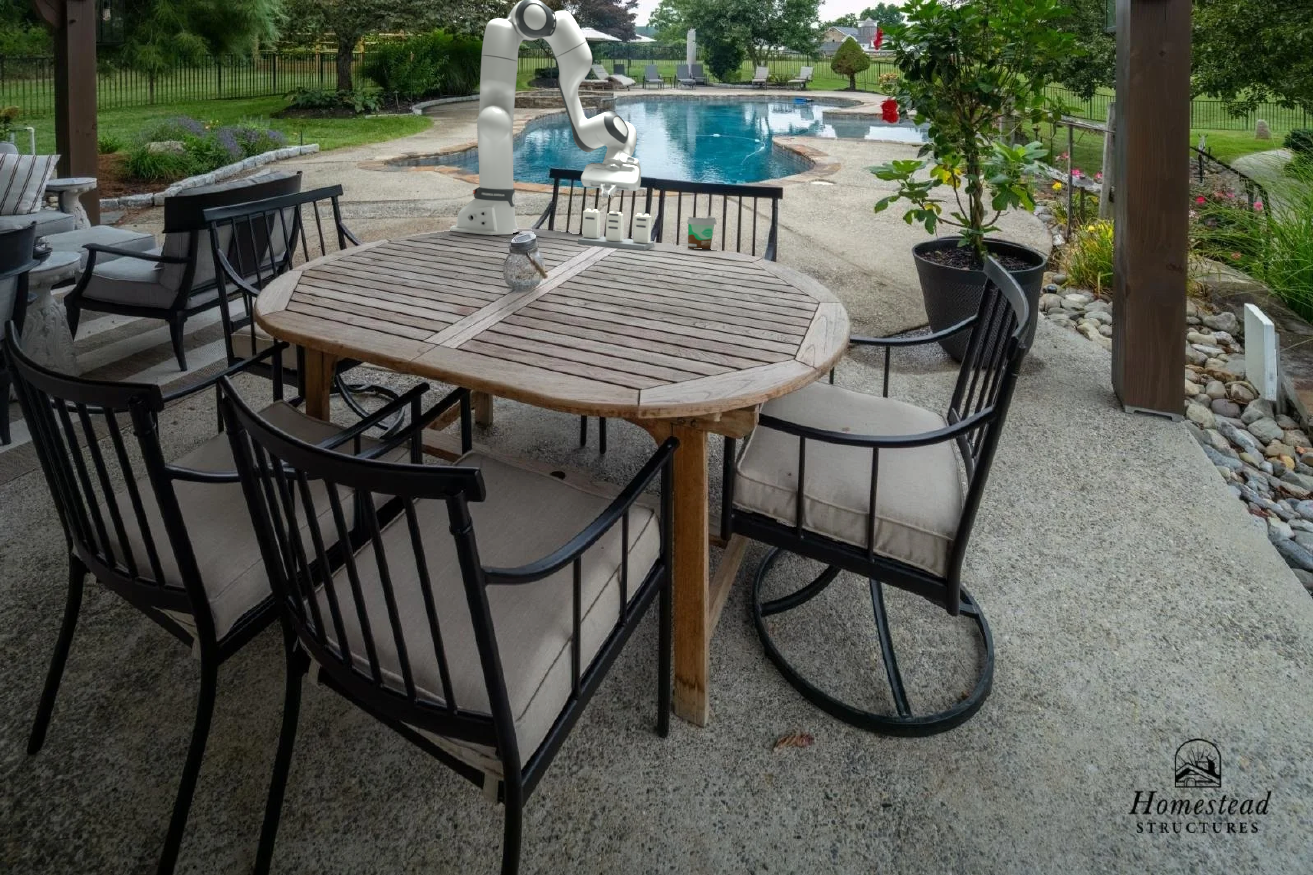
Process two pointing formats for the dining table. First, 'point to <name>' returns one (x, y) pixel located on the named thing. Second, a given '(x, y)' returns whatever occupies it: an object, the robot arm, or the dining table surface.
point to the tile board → (616, 243)
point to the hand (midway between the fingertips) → (605, 196)
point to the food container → (700, 232)
